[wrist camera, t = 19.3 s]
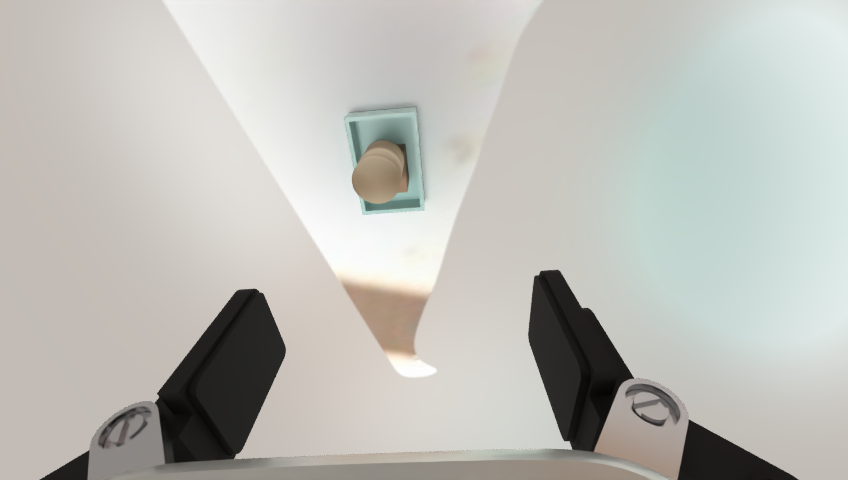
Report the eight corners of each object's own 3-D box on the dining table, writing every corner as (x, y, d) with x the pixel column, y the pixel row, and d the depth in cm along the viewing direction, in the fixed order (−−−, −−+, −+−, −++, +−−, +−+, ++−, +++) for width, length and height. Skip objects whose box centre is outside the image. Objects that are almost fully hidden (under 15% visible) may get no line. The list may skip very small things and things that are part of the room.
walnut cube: (374, 181, 38) (369, 146, 36) (409, 178, 38) (405, 143, 36) (369, 194, 35) (363, 157, 33) (407, 192, 35) (403, 154, 33)
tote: (350, 112, 35) (344, 117, 33) (416, 106, 35) (415, 111, 32) (366, 203, 40) (362, 214, 38) (424, 199, 40) (424, 210, 37)
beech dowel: (360, 141, 32) (347, 160, 27) (401, 138, 32) (396, 156, 27) (367, 181, 34) (356, 205, 29) (406, 178, 34) (402, 201, 29)
